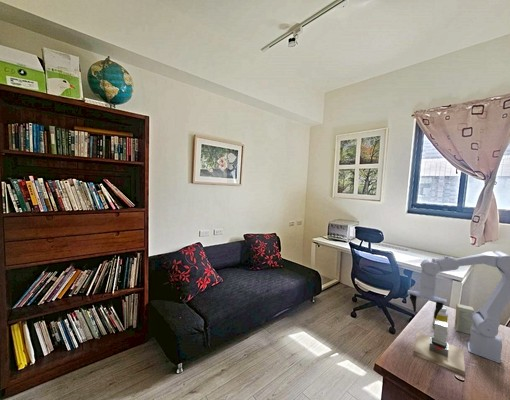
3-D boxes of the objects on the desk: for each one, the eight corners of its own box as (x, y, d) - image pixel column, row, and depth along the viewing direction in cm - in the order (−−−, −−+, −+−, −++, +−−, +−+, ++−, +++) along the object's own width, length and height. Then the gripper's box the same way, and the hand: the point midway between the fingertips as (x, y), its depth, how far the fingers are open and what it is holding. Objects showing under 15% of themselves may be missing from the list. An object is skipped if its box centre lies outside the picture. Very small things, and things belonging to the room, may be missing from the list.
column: (445, 341, 97) (447, 323, 97) (445, 346, 94) (447, 327, 94) (433, 336, 100) (435, 319, 99) (433, 341, 97) (434, 323, 96)
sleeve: (447, 349, 98) (448, 342, 98) (447, 358, 93) (448, 351, 92) (429, 342, 102) (430, 336, 101) (429, 350, 96) (429, 344, 96)
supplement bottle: (448, 329, 114) (451, 310, 114) (436, 328, 115) (438, 309, 115) (442, 323, 120) (444, 305, 119) (430, 321, 121) (432, 303, 120)
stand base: (462, 352, 99) (462, 349, 98) (464, 375, 86) (465, 371, 86) (416, 335, 109) (417, 332, 109) (413, 353, 96) (413, 350, 96)
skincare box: (470, 330, 114) (473, 306, 113) (472, 335, 111) (475, 310, 110) (453, 326, 118) (456, 302, 117) (455, 330, 114) (457, 306, 113)
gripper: (407, 283, 109) (405, 311, 110) (447, 294, 100) (444, 324, 101) (409, 279, 114) (407, 305, 115) (447, 288, 105) (444, 317, 106)
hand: (424, 314), depth 108 cm, fingers open, 7 cm apart
